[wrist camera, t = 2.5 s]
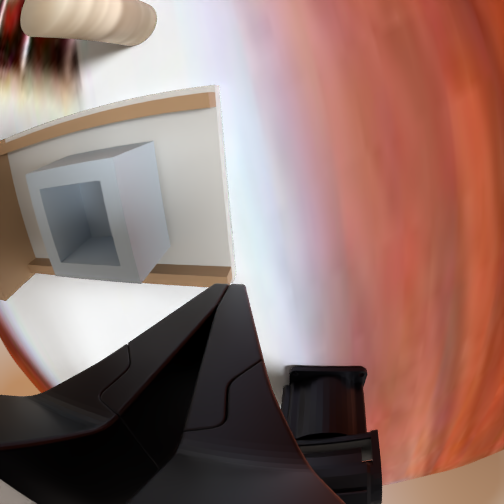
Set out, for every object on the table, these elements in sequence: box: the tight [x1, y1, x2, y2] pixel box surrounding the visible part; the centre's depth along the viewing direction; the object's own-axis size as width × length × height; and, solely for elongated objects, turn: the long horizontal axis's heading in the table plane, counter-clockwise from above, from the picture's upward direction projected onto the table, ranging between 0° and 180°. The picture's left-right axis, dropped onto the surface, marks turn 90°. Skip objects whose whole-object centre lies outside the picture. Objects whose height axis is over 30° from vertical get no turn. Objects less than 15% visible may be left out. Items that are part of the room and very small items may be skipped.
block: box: [25, 141, 171, 284], centre depth 16 cm, size 7×7×4 cm
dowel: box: [21, 0, 157, 46], centre depth 10 cm, size 3×3×8 cm
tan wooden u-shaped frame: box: [0, 85, 236, 301], centre depth 17 cm, size 20×12×6 cm, turn 93°
